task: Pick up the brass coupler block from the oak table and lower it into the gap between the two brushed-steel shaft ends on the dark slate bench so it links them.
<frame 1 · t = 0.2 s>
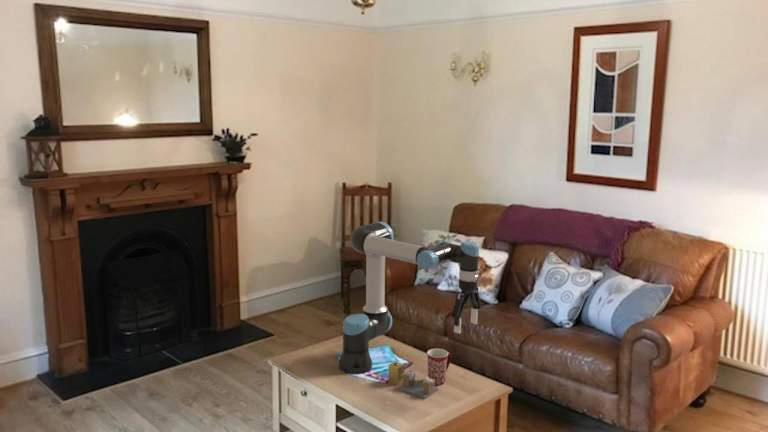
hand: (465, 327, 266), 28 cm above the table, fingers open, 13 cm apart
shaft bench: (418, 390, 269), on the table
coupler: (395, 381, 276), on the table
mug: (439, 380, 278), on the table
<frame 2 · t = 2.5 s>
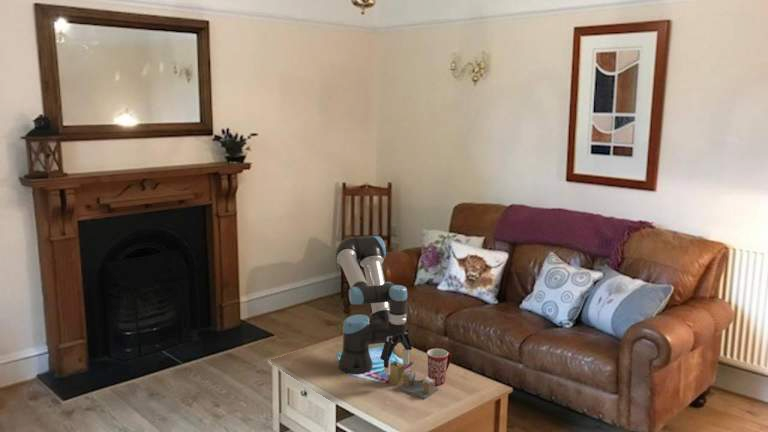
hand: (396, 368, 275), 6 cm above the table, fingers open, 13 cm apart
nothing on the table moved.
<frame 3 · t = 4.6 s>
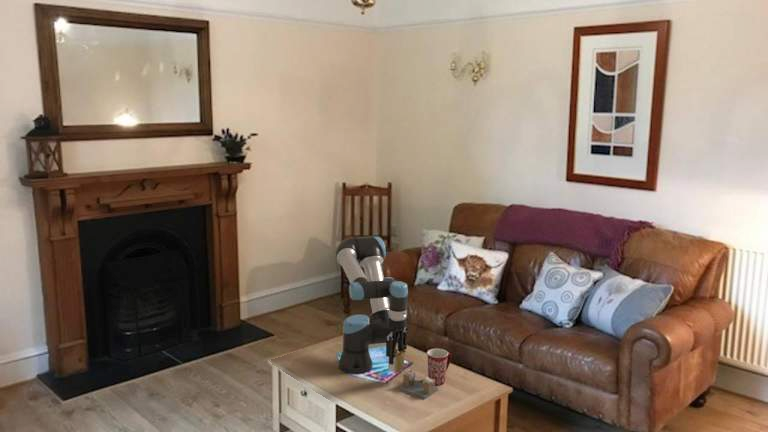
hand: (395, 368, 276), 6 cm above the table, fingers closed on coupler, 4 cm apart
coupler: (396, 369, 276), point 6 cm above the table, touching gripper
everything else where it was.
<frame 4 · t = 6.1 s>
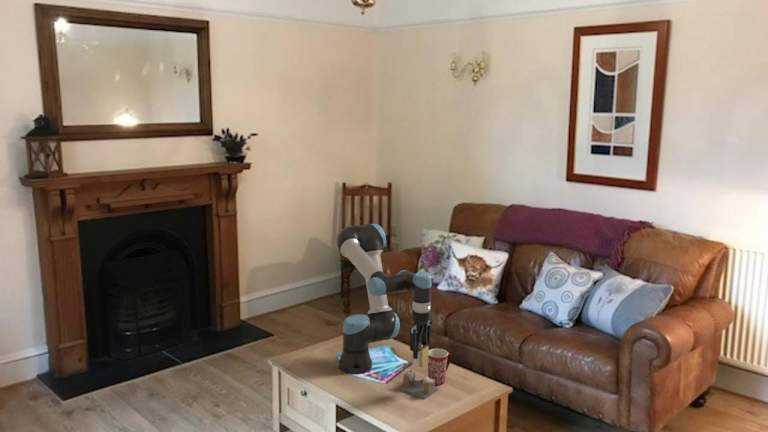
hand: (419, 363, 266), 12 cm above the table, fingers closed on coupler, 4 cm apart
coupler: (420, 364, 266), point 12 cm above the table, touching gripper
everything else where it was.
when the fingers open (2 cm above the table, at t = 8.0 s): coupler stays where it is, resting on shaft bench.
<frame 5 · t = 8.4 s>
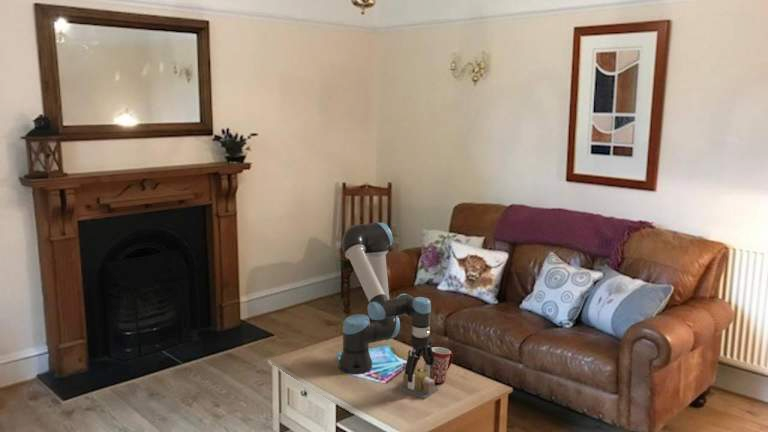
hand: (418, 383, 269), 3 cm above the table, fingers open, 11 cm apart
coupler: (419, 387, 269), point 1 cm above the table, touching shaft bench
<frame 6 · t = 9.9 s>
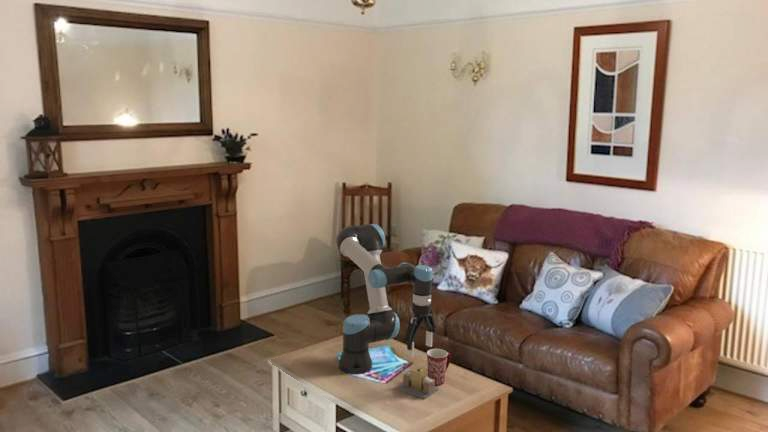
hand: (419, 351, 266), 18 cm above the table, fingers open, 13 cm apart
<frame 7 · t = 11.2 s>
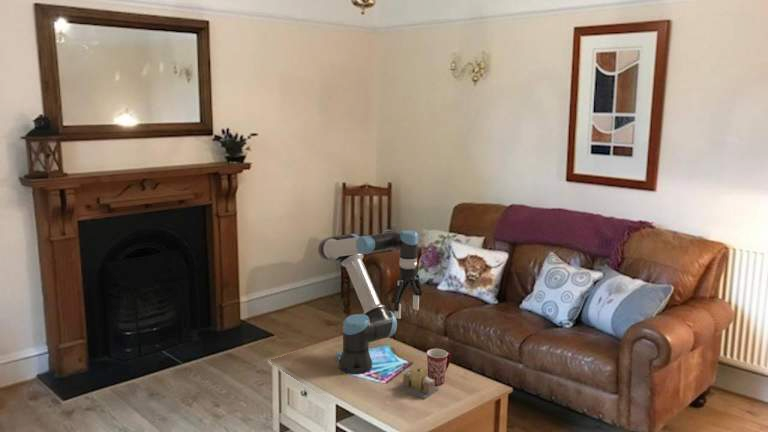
hand: (406, 313, 277), 29 cm above the table, fingers open, 13 cm apart
nothing on the table moved.
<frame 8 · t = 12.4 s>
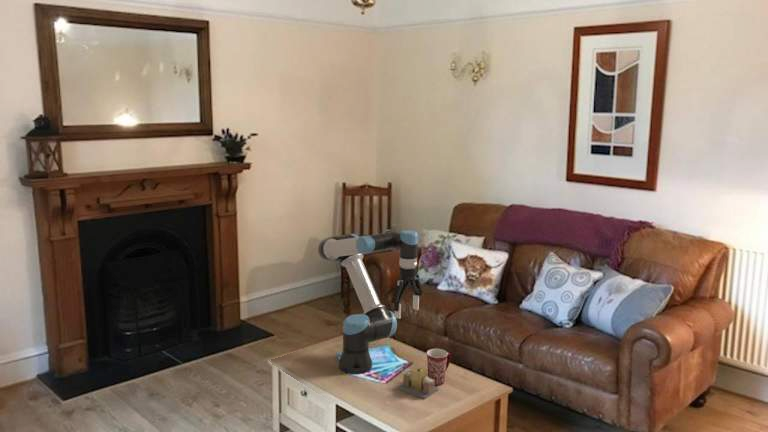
hand: (406, 313, 277), 29 cm above the table, fingers open, 13 cm apart
nothing on the table moved.
at the end: coupler 0.2 cm off-centre on the shaft bench, point 1.0 cm above the shaft bench's base; coupler tilted 0°; the gripper is holding nothing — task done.
